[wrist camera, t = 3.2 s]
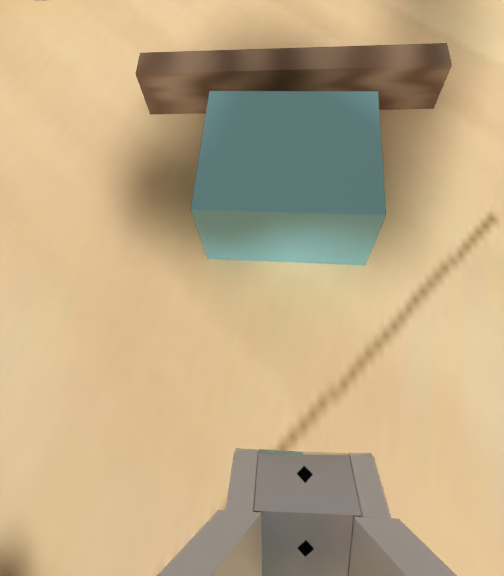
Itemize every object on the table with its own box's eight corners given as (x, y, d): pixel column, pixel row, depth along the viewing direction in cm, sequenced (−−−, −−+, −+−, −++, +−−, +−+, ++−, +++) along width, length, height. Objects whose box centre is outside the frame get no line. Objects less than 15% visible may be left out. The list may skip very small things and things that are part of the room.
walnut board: (429, 87, 44) (446, 43, 39) (433, 108, 43) (451, 65, 38) (154, 94, 46) (140, 52, 42) (150, 114, 45) (135, 73, 40)
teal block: (360, 158, 41) (378, 91, 34) (364, 266, 36) (385, 215, 29) (221, 156, 42) (209, 90, 35) (207, 260, 38) (190, 209, 30)
